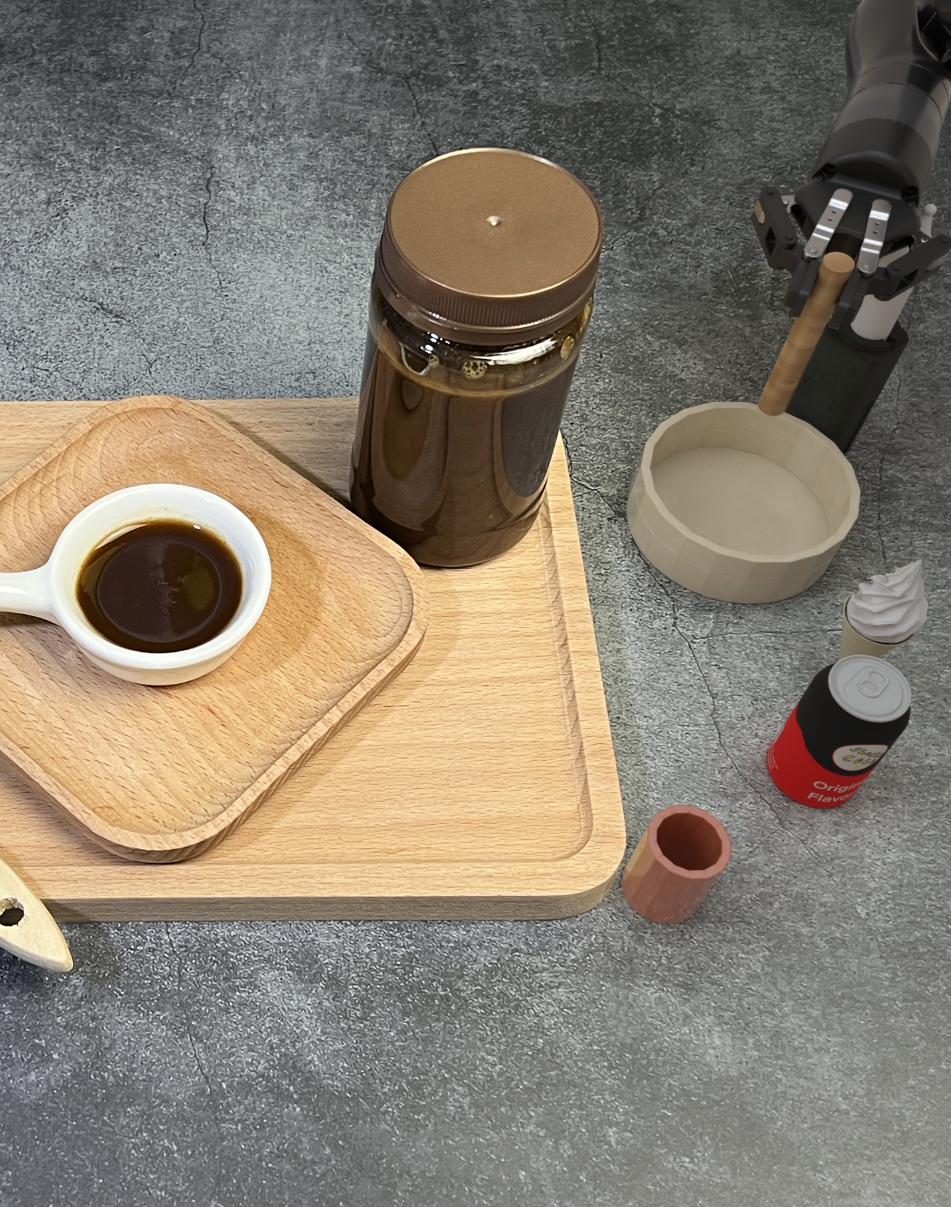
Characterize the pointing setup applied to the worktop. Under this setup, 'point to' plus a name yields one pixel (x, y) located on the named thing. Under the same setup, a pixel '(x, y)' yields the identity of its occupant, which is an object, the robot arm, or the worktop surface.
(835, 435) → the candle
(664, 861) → the utensil cup
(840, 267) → the stirring stick
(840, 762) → the beverage can
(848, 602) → the ice cream cone
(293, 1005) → the worktop surface
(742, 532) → the bowl
